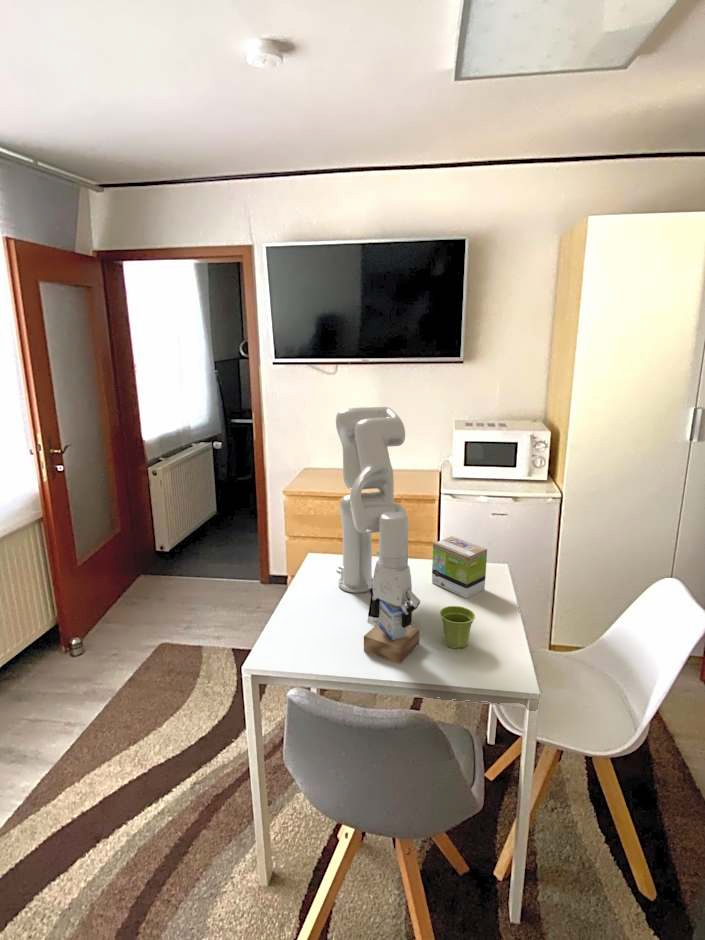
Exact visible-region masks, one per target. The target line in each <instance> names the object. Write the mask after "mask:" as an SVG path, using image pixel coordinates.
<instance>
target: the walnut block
mask: <svg viewBox="0 0 705 940" xmlns="http://www.w3.org/2000/svg"><path fill="white" fill-rule="evenodd" d="M420 630H421V629H420V628H418V627H413V626H410V625H409V626H407V637H404V638H400V639H396V640H392V639H391V638H390V637H389V636H388V635H387V634H386V633H385V632H384V631H383V630H382V629H381V628H380V627H379V622H378V623H377V624H376V625H375V626H374V627H372V628H371V629H370V630H369V631H368V632H366V633H365V634H364V636H363V652H364V653H367V654H370V655H372V656H375V657H379V658H381V659H384V660H387V661H390V662H393V663H396V664H399V665H401V664H402V663H403V662H404V661H405V660H406V659H407V658H408V657H409V656H410V654H412V652H414V650H415V649H416V648H418V646H419V645H420V634H421V633H420Z"/></svg>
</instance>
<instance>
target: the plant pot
mask: <svg viewBox="0 0 705 940" xmlns="http://www.w3.org/2000/svg"><path fill="white" fill-rule="evenodd" d="M439 616H440V619H441V622H442V630H443V641H444V643H445V644H446V646H447V647H449V648H453V649H459V648H465V647H466V646H467V645H468V641H469V636H470V632H471V628H472V624H473V622H474V620H475V618H476V614H475V612H474V611H473V610H471V609H469V608H468V607H463V606H459V605H451V606H450V605H449V606H445V607H442V608H441V609H440V610H439Z"/></svg>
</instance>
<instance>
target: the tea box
mask: <svg viewBox="0 0 705 940" xmlns="http://www.w3.org/2000/svg"><path fill="white" fill-rule="evenodd" d="M487 557H488V548H485V547H482V546H480V545H477V544H473V543H471V542H468V541H466V540H463V539H461V538H458V537H455V536H450V537H447V538H444V539H441V540H438V541H437V542H433V543H432V562H431V563H432V564H431V565H432V570H431V582H432V584H435V585H436V586H439V587H441V588H443V589H445V590H448V591H450V592H452V593H454V594H456V595H457V596H460V597H462V598H464V599H468V598H471V597H473V596H475V595H476V594H478V593H481V592H482V591H485V586H486V574H487V561H488V560H487Z"/></svg>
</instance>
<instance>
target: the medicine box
mask: <svg viewBox="0 0 705 940" xmlns="http://www.w3.org/2000/svg"><path fill="white" fill-rule="evenodd" d="M403 613H404V612H403V610H402V608H401V606H400V607H398V606H395V605H392V604H390V603H387V602H385V601H383V600H381V599H380V605H379V614H378V623H379V627H380V628H381V629H382V630H383V631H384V632H385V633H386V634H387V635H388V636H389V637H390V638H391V639H392V640H396V639H400V638H404V637H407V627H405V628H403V627H402V614H403Z"/></svg>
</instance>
